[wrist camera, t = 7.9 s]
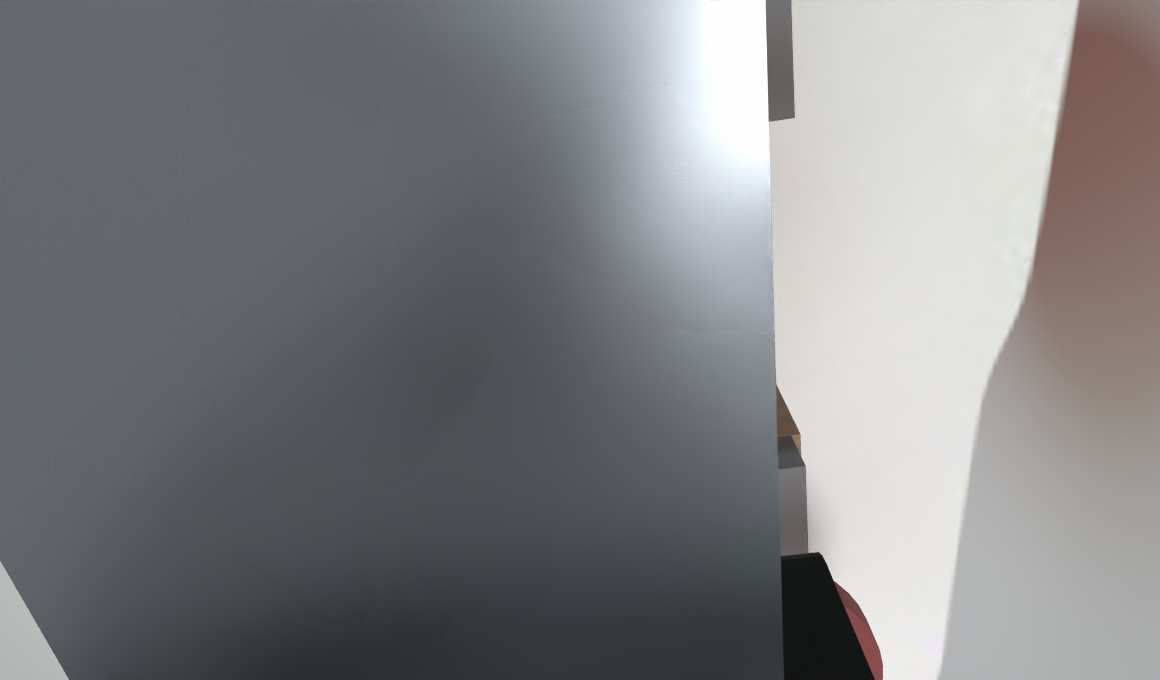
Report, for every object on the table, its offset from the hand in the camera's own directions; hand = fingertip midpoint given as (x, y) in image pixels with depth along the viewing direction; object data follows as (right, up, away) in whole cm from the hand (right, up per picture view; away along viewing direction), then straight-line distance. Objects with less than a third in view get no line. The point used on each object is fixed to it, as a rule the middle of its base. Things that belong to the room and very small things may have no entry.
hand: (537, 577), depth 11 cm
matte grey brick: (0, 0, +1) cm, 1 cm away
